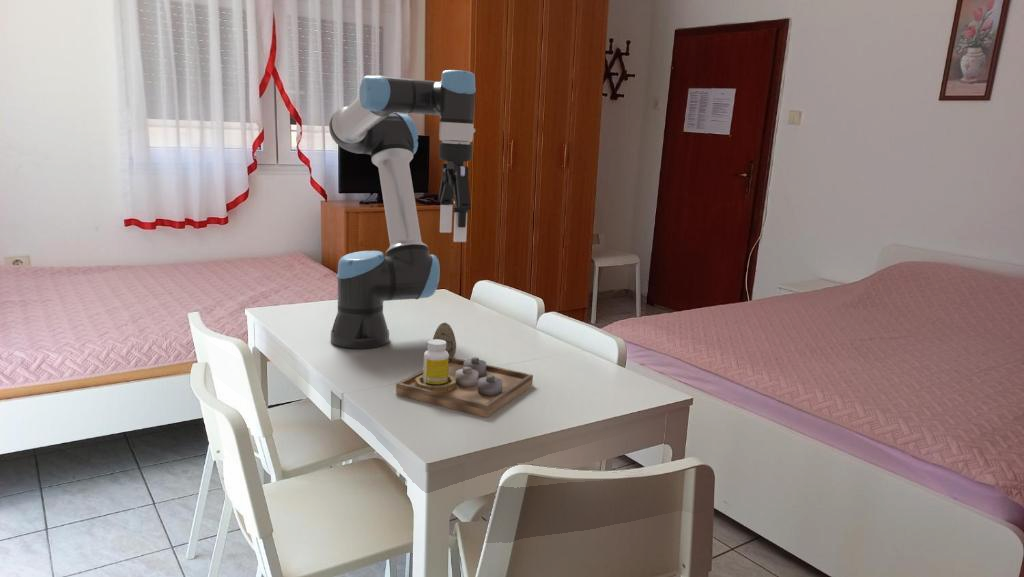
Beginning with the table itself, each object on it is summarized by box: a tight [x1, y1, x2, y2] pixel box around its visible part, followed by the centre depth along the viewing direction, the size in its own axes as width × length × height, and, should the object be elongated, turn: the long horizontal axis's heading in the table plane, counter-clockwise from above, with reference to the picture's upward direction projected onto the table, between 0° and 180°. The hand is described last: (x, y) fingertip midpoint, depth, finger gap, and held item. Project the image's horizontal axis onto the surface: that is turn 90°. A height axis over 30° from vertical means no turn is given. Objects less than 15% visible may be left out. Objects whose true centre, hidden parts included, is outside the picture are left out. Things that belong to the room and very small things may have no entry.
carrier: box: [395, 356, 534, 418], centre depth 154 cm, size 22×22×5 cm
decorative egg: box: [432, 322, 457, 358], centre depth 171 cm, size 6×6×10 cm
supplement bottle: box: [422, 338, 449, 386], centre depth 152 cm, size 5×5×10 cm
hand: (452, 237), depth 162 cm, fingers open, 13 cm apart
